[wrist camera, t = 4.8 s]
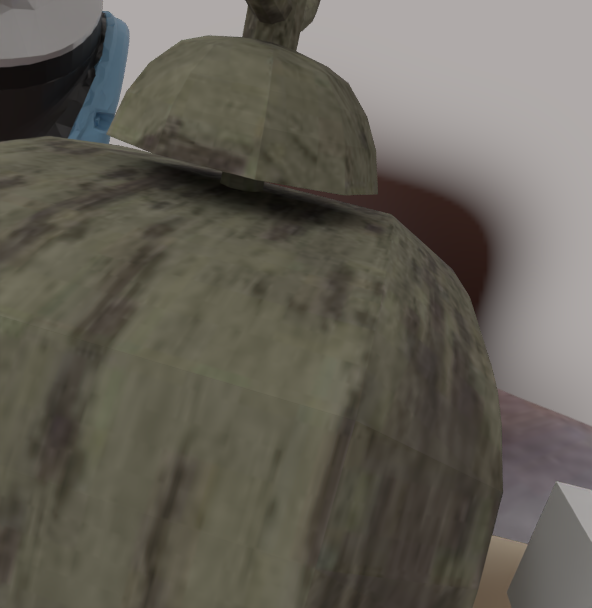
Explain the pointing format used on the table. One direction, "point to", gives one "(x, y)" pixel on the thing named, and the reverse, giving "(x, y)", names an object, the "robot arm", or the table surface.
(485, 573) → the maple base
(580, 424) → the table surface
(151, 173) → the tabletop clock
